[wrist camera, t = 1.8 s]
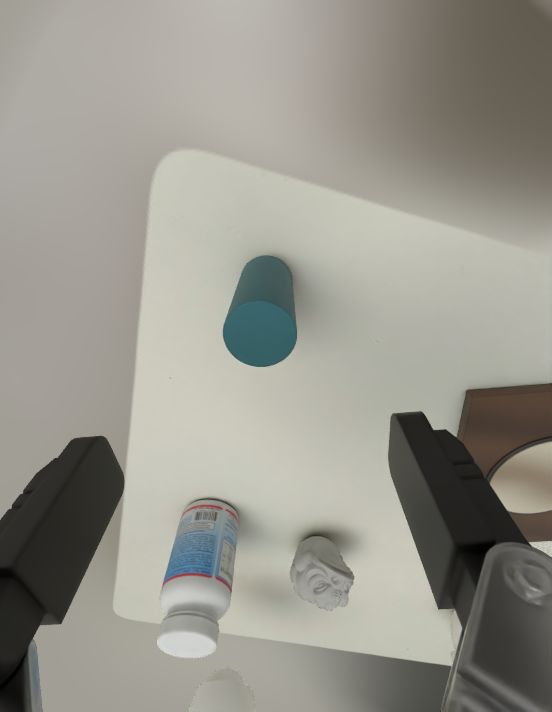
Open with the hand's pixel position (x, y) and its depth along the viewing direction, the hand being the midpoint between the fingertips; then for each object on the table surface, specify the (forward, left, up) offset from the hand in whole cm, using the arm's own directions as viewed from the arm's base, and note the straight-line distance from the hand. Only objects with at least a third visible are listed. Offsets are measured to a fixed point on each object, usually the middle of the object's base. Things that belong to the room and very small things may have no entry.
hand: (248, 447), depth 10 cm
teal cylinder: (0, 0, -16) cm, 16 cm away
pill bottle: (+25, -9, -16) cm, 31 cm away
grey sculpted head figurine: (+30, +2, -16) cm, 34 cm away
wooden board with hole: (+21, +23, -16) cm, 35 cm away
